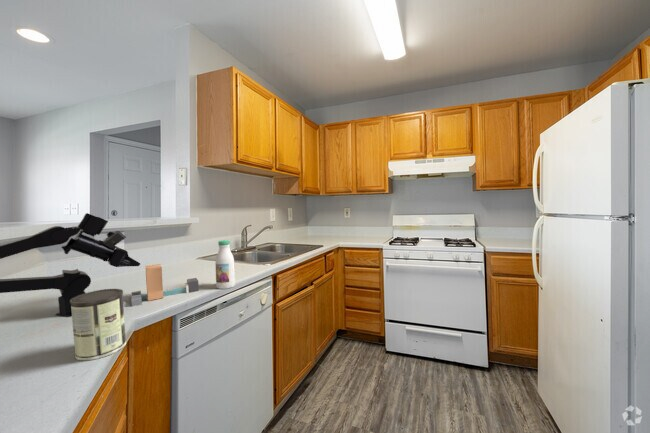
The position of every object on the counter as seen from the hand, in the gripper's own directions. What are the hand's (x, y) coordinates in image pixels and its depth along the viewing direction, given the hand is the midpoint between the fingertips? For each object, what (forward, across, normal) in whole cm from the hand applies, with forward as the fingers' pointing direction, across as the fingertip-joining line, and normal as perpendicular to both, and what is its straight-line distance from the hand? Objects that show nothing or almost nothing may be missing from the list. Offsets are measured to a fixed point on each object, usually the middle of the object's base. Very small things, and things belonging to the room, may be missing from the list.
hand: (136, 263), depth 108 cm
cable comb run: (+14, -6, +7) cm, 17 cm away
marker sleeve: (+11, -5, +9) cm, 15 cm away
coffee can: (-7, -39, +21) cm, 44 cm away
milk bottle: (+32, -14, -4) cm, 35 cm away
